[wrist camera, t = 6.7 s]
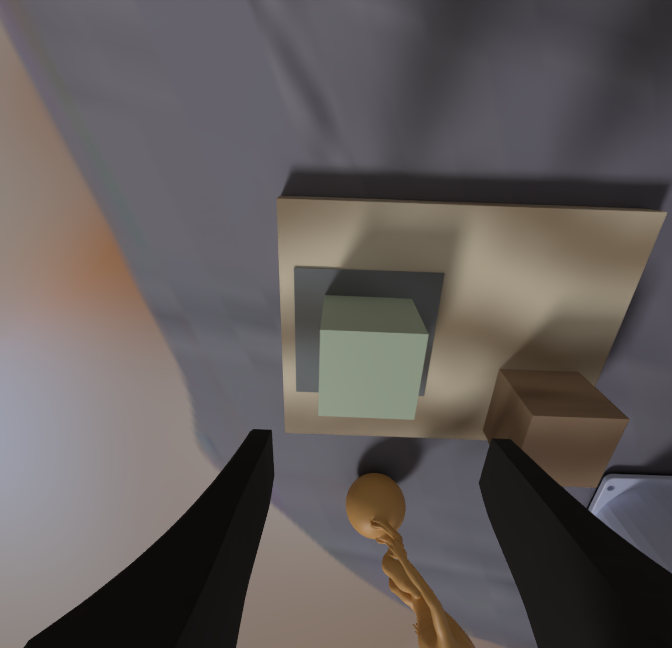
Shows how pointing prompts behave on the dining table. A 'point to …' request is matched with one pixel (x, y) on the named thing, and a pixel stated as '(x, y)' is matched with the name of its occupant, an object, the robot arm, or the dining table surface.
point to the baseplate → (458, 295)
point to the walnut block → (556, 423)
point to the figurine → (401, 558)
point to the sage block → (370, 357)
